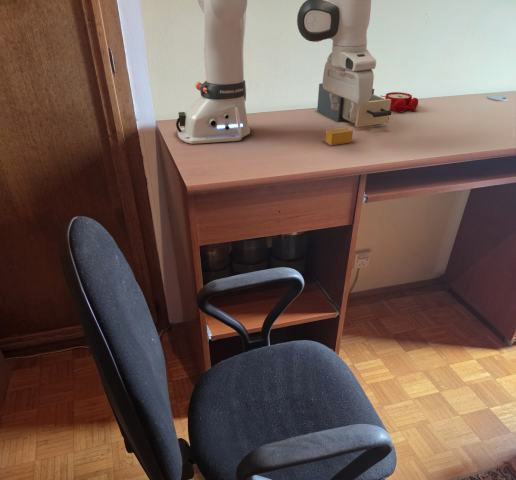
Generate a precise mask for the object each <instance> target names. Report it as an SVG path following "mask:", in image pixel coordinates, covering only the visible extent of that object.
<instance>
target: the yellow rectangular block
mask: <svg viewBox="0 0 516 480" xmlns="http://www.w3.org/2000/svg"><path fill="white" fill-rule="evenodd" d="M353 135H354V130H352V129H350V128H348V127H344V128H334V129H329V130H326V131H325V140H324V142H325V143H326V144H328V145H329V146H337V145H342V144H350V143H352V142H353Z"/></svg>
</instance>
